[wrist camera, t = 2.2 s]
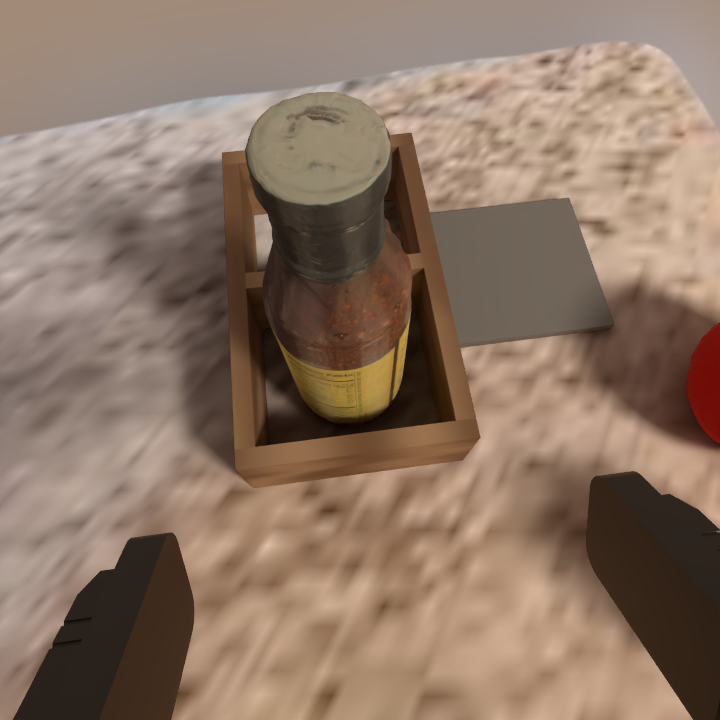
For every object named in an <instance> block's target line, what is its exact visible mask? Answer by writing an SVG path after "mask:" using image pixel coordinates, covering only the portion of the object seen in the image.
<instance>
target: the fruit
mask: <svg viewBox="0 0 720 720" xmlns="http://www.w3.org/2000/svg"><path fill="white" fill-rule="evenodd" d="M686 392H687V395H688V398H689V401H690V404H691V407H692V410H693V413H694V415H695V418H696V419H697V421H698V422H699V424H700V425H701V427H702V428H703V429H704V430H705V432H706V433H707V434H708V435H709V436H710V437H711V439H713V440H714V441H716V442H717V443H719V444H720V323H718V324H717V325H715V326H714V327H713V328H712V329H711V330H710V331H709V332H708V333H707V334H706V335H705V336H704V337H703V338H702V339H701V341H700V343H699V344H698V346H697V348H696V350H695V351H694V353H693V355H692V358H691V363H690V367H689V372H688V377H687V381H686Z"/></svg>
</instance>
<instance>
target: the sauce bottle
mask: <svg viewBox="0 0 720 720" xmlns="http://www.w3.org/2000/svg"><path fill="white" fill-rule="evenodd" d="M245 157H246V162H247V167H248V170H249V176H250V180H251V182H252V187H253V191H254V194H255V197H256V198H257V200H258V202H259V203H260V204H261V206H262V207H263V208H264V210H265V211H266V212H267V214H268V217H269V221H270V223H271V226H272V238H273V243H272V247H271V251H270V254H269V258H268V262H267V265H266V269H265V273H264V277H263V284H262V295H263V302H264V307H265V312H266V315H267V318H268V320H269V323H270V325H271V328H272V330H273V332H274V334H275V336H276V339H277V341H278V343H279V346H280V348H281V350H282V352H283V355H284V357H285V360H286V362H287V364H288V367H289V369H290V371H291V374H292V376H293V379H294V381H295V383H296V386H297V388H298V391H299V393H300V395H301V397H302V398H303V400H304V401H305V403H306V404H307V405H308V406H309V407H310V408H311V409H312V410H313V411H314V413H315V414H317V415H318V416H320V417H322V418H324V419H326V420H328V421H331V422H333V423H336V424H341V425H348V426H360V425H362V424H364V423H367V422H370V421H372V420H373V419H375V418H376V417H378V416H379V415H381V414H382V413H383V412H384V411H386V410H387V409H388V408H389V407H390V406H391V405H392V403H393V401H394V399H395V397H396V394H397V393H398V390H399V388H400V385H401V381H402V376H403V369H404V361H405V353H406V346H407V338H408V330H409V323H410V315H411V289H412V272H411V265H410V260H409V257H408V256H407V255H406V253H405V252H404V251H403V249H402V246H401V242H400V239H398V238H397V237H396V236H395V234H393V233H392V231H391V228H390V225H389V222H388V220H387V219H386V218H385V215H384V197H385V195H386V193H387V190H388V186H389V182H390V179H391V165H392V152H391V141H390V135H389V132H388V130H387V128H386V126H385V124H384V121H383V119H382V118H381V117H380V116H379V115H378V114H377V113H376V112H375V111H374V110H373V109H372V108H370V107H369V106H368V105H366V104H365V103H364V102H362V101H361V100H358V99H356V98H353V97H350V96H347V95H344V94H339V93H336V92H317V93H309V94H305V95H301V96H298V97H294V98H290V99H286V100H283V101H282V102H280V103H278V104H277V105H274V106H272V107H270V108H269V109H268V110H267V111H266V112H265V113H263V114H262V115H261V117H260V118H259V119H258V120H257V122H256V123H255V124H254V126H253V128H252V130H251V133H250V136H249V139H248V143H247V146H246V149H245Z"/></svg>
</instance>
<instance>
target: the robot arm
mask: <svg viewBox="0 0 720 720" xmlns="http://www.w3.org/2000/svg"><path fill="white" fill-rule="evenodd" d="M586 547H587V552H588V556H589V560H590V563H591V565H592V568H593V570H594V572H595V573H596V575H597V577H598V578H599V580H600V581H601V583H602V584H603V586H604V587H605V589H606V590H607V592H608V593H609V595H610V596H611V597H612V599H613V600H614V602H615V603H616V605H617V606H618V608H619V609H620V611H621V612H622V614H623V615H624V617H625V618H626V620H627V621H628V623H629V624H630V626H631V627H632V629H633V630H634V632H635V633H636V635H637V636H638V638H639V639H640V641H641V642H642V644H643V645H644V647H645V648H646V650H647V651H648V653H649V654H650V656H651V657H652V659H653V660H654V662H655V663H656V665H657V666H658V668H659V669H660V671H661V672H662V674H663V675H664V677H665V678H666V680H667V681H668V683H669V684H670V686H671V687H672V689H673V690H674V692H675V693H676V695H677V696H678V698H679V699H680V701H681V702H682V704H683V705H684V707H685V708H686V710H687V711H688V713H689V714H690V716H691V717H692V719H693V720H720V529H719V528H717V527H716V526H715V525H714V524H713V523H712V522H711V521H710V520H709V519H708V518H707V517H706V516H705V515H704V514H702V513H701V512H700V511H699V510H698V509H696V508H694V507H692V506H691V505H689V504H687V503H685V502H683V501H681V500H680V499H678V498H676V497H674V496H672V495H670V494H666V495H661V494H660V493H659V492H658V491H657V490H655V489H654V488H653V487H652V486H651V485H650V484H649V483H648V482H647V481H646V480H645V479H644V478H643V477H642V476H641V475H640V474H639V473H637V472H634V471H631V472H624V473H617V474H609V475H602V476H596V477H594V478H593V479H592V481H591V484H590V494H589V507H588V520H587V533H586ZM193 625H194V600H193V594H192V590H191V587H190V583H189V580H188V576H187V573H186V569H185V565H184V562H183V558H182V555H181V551H180V548H179V544H178V541H177V538H176V536H175V535H174V534H173V533H164V534H156V535H149V536H141V537H134V538H130V539H129V540H128V541H127V543H126V545H125V547H124V549H123V551H122V554H121V556H120V558H119V560H118V562H117V565H116V567H115V569H111V570H104V571H100V572H99V573H98V574H97V575H96V576H95V577H94V578H93V579H92V580H91V581H90V582H89V583H88V584H87V585H86V587H85V588H84V589H83V590H82V591H81V592H80V593H79V594H78V595H77V597H76V599H75V601H74V602H73V604H72V606H71V608H70V610H69V612H68V614H67V616H66V618H65V620H64V626H61V628H60V630H59V632H58V633H57V635H56V637H55V639H54V641H53V643H52V644H53V647H52V649H49V651H48V653H47V655H46V657H45V659H44V661H43V663H42V665H41V666H40V668H39V670H38V672H37V674H36V676H35V678H34V680H33V682H32V684H31V686H30V688H29V690H28V692H27V694H26V696H25V697H24V699H23V701H22V703H21V705H20V707H19V709H18V711H17V713H16V715H15V717H14V719H13V720H171V718H172V714H173V710H174V706H175V702H176V697H177V693H178V689H179V685H180V681H181V677H182V672H183V668H184V664H185V660H186V656H187V652H188V648H189V643H190V639H191V635H192V631H193Z"/></svg>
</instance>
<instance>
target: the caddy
mask: <svg viewBox="0 0 720 720" xmlns="http://www.w3.org/2000/svg"><path fill="white" fill-rule="evenodd" d="M390 141H391V152H392V165H391V179H390V182H389V186H388V190H387V193H386V195H385V197H384V201H385V200H394V201H395V206H396V211H397V216H398V221H399V226H400V231H401V236H402V241H403V247H404V252H405V253H406V255H407V256H408V257H409V260H410V265H411V272H412V289H411V311H413V310H416V313H417V318H418V323H419V328H420V333H421V338H422V343H423V348H424V353H425V359H426V364H427V369H428V374H429V379H430V384H431V389H432V394H433V399H434V404H435V409H436V414H437V420H438V423H435V424H427V425H419V426H412V427H404V428H396V429H389V430H381V431H374V432H366V433H358V434H351V435H343V436H335V437H328V438H320V439H312V440H305V441H297V442H290V443H282V444H274V445H270V444H269V430H268V415H267V400H266V386H265V371H264V356H263V342H262V329H264V328H271V325H270V323H269V320H268V318H267V315H266V312H265V307H264V302H263V295H262V284H263V277H264V273H265V271H260V272H258V269H257V254H256V239H255V225H254V215H259V214H267V212H266V211H265V210H264V208H263V207H262V206H261V204H260V203H259V202H258V200H257V198H256V197H255V194H254V191H253V187H252V182H251V180H250V176H249V170H248V167H247V162H246V157H245V150H244V151H234V152H225V153H222V165H223V189H224V212H225V236H226V260H227V284H228V307H229V331H230V355H231V379H232V402H233V426H234V450H235V470H236V471H237V472H238V473H239V474H240V475H241V476H242V477H243V478H244V479H246V480H247V481H248V482H249V483H250V484H251V485H252V486H253V487H254V488H259V487H266V486H273V485H281V484H288V483H296V482H303V481H311V480H318V479H326V478H333V477H340V476H348V475H355V474H363V473H370V472H378V471H385V470H392V469H400V468H407V467H415V466H422V465H430V464H437V463H445V462H452V461H459V460H463V459H464V458H465V457H466V455H467V454H468V453H469V452H470V450H471V449H472V448H473V446H474V445H475V444H476V442H477V441H478V440H479V439H480V434H479V430H478V425H477V421H476V416H475V412H474V407H473V403H472V399H471V394H470V390H469V385H468V381H467V376H466V372H465V368H464V363H463V359H462V354H461V350H460V345H459V341H458V337H457V332H456V328H455V323H454V319H453V314H452V310H451V306H450V301H449V297H448V292H447V288H446V283H445V279H444V275H443V270H442V266H441V261H440V257H439V252H438V248H437V244H436V239H435V235H434V230H433V226H432V221H431V217H430V213H429V208H428V204H427V199H426V195H425V190H424V186H423V182H422V177H421V173H420V168H419V164H418V159H417V155H416V151H415V146H414V142H413V137H412V133H405V134H396V135H390Z"/></svg>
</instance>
